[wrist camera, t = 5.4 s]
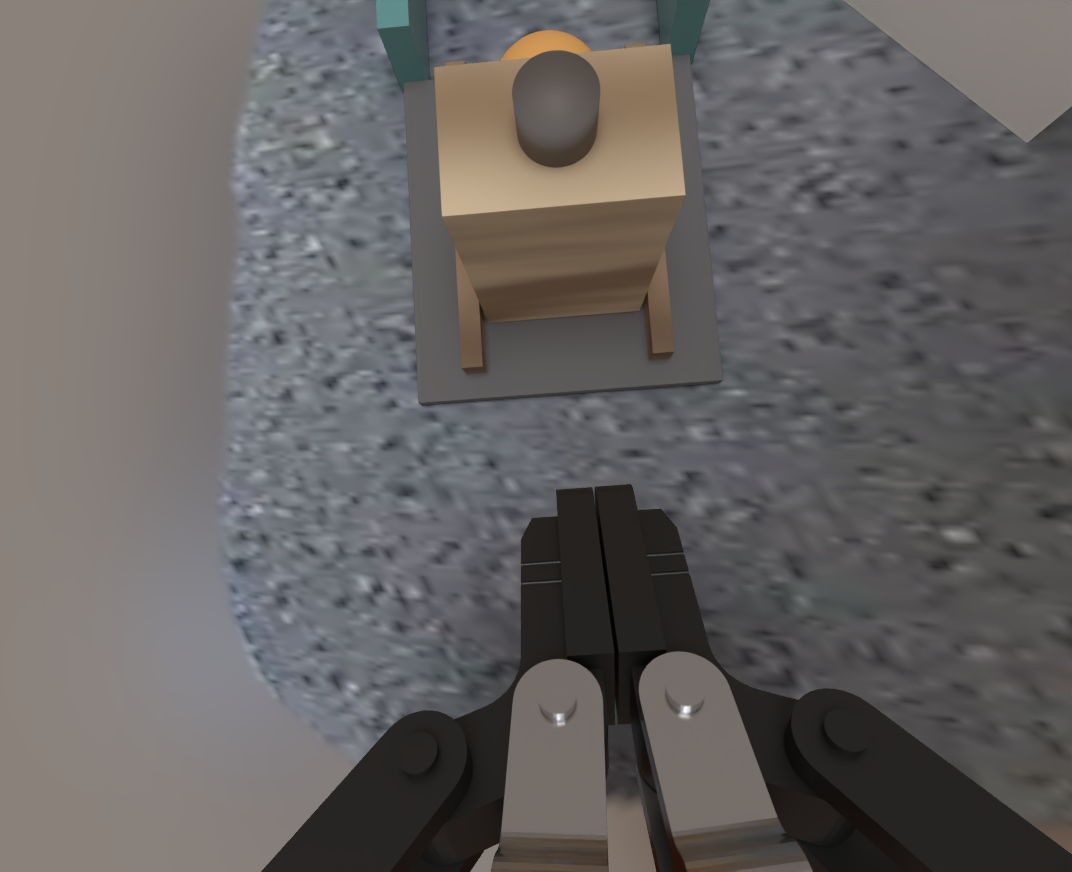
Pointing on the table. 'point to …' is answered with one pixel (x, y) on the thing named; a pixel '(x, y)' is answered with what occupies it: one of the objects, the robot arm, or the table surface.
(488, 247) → the tan rectangular block
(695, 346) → the mat
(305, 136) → the table surface
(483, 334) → the channel
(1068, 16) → the milk
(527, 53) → the ball
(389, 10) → the teal u-shaped frame
